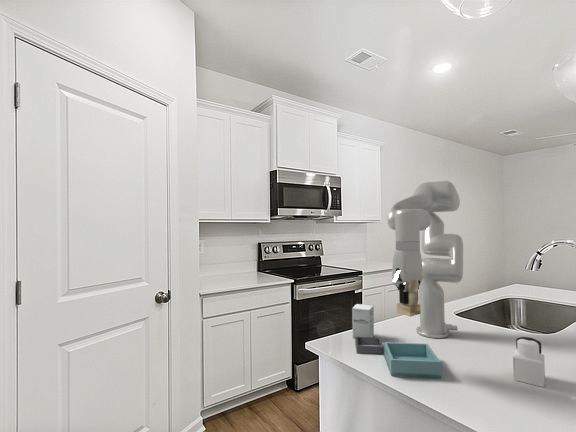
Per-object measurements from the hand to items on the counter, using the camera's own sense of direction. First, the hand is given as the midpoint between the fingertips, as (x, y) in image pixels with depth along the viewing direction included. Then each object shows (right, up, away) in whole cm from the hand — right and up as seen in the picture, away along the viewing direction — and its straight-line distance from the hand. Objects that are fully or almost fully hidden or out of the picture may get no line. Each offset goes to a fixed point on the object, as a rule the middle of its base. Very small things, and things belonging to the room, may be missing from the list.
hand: (408, 301), depth 108 cm
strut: (0, -4, 0) cm, 4 cm away
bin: (0, -21, 0) cm, 21 cm away
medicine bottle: (+32, -21, -10) cm, 40 cm away
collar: (-9, -22, +15) cm, 28 cm away
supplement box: (-9, -22, +27) cm, 36 cm away
